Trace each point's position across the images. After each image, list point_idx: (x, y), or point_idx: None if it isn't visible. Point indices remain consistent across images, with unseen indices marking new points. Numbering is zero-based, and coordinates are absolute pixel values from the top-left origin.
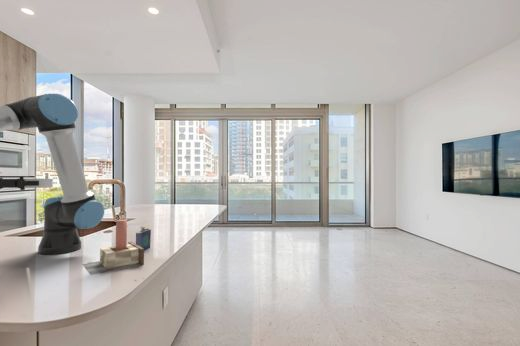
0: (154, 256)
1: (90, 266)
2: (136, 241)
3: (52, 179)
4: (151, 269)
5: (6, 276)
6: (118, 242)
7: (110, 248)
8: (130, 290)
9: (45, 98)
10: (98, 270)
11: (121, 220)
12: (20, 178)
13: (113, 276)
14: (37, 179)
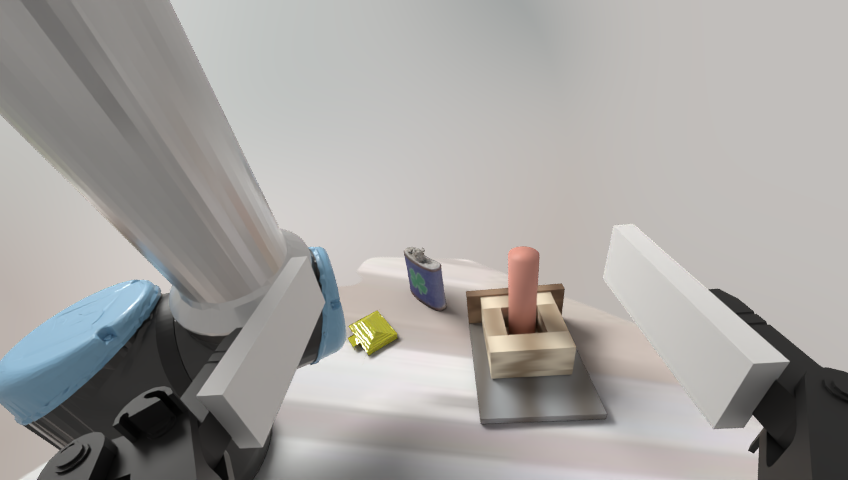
0: (483, 289)
1: (517, 403)
2: (438, 286)
3: (631, 229)
4: (582, 308)
5: None
6: (534, 308)
7: (506, 334)
8: None
9: None
10: (570, 392)
11: (523, 254)
12: (146, 429)
13: (608, 372)
14: (696, 287)
